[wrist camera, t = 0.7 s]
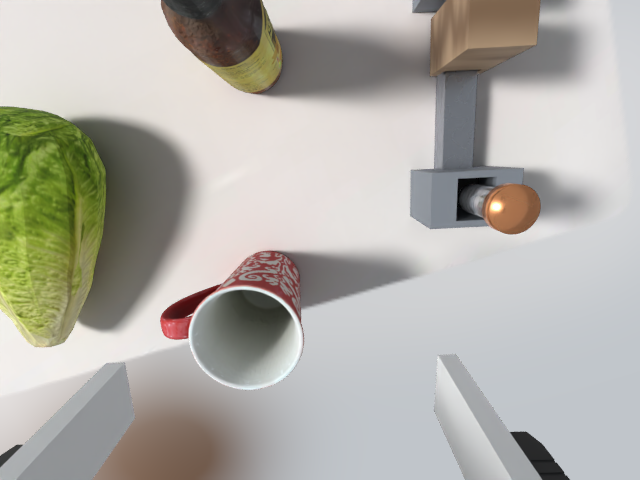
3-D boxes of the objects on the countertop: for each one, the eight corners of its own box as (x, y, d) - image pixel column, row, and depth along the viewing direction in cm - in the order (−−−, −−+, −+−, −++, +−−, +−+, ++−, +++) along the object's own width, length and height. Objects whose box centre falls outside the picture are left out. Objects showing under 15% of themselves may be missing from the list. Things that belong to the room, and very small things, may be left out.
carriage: (431, 19, 32) (471, -31, 24) (484, 16, 32) (543, -35, 24) (429, 76, 33) (467, 48, 25) (480, 73, 33) (536, 44, 25)
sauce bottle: (297, 61, 34) (268, -64, 15) (256, 109, 35) (179, 51, 16) (247, 10, 33) (145, -197, 14) (206, 61, 34) (59, -63, 15)
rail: (438, 11, 33) (447, -1, 31) (469, 9, 33) (481, -3, 31) (434, 168, 37) (442, 169, 34) (462, 167, 37) (472, 168, 34)
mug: (309, 242, 38) (304, 286, 25) (308, 316, 41) (303, 392, 28) (197, 240, 38) (134, 283, 25) (202, 314, 41) (146, 389, 27)
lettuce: (-46, 341, 36) (-12, 407, 29) (-92, 91, 29) (-61, 103, 22) (85, 305, 45) (133, 350, 39) (74, 112, 38) (131, 125, 31)
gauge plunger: (452, 179, 31) (491, 185, 24) (492, 177, 31) (542, 183, 24) (450, 218, 32) (488, 235, 25) (489, 216, 32) (537, 232, 25)
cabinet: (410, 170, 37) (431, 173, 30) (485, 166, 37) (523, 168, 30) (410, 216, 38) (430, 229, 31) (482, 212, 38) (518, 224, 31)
